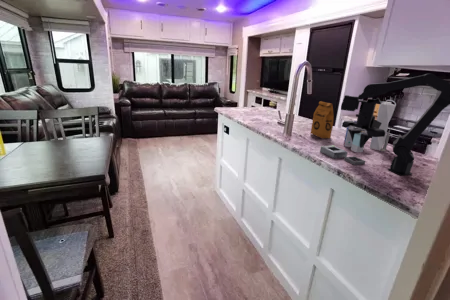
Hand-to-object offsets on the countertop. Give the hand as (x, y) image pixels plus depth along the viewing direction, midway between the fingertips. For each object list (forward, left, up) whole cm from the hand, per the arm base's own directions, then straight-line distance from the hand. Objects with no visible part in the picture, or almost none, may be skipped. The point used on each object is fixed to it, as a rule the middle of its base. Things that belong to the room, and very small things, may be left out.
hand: (357, 146), depth 109 cm
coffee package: (+42, -14, -8) cm, 45 cm away
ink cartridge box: (+20, -19, -8) cm, 29 cm away
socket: (+11, +3, -8) cm, 14 cm away
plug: (0, 0, -2) cm, 2 cm away
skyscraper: (+14, -30, -8) cm, 34 cm away
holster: (0, 0, -8) cm, 8 cm away
